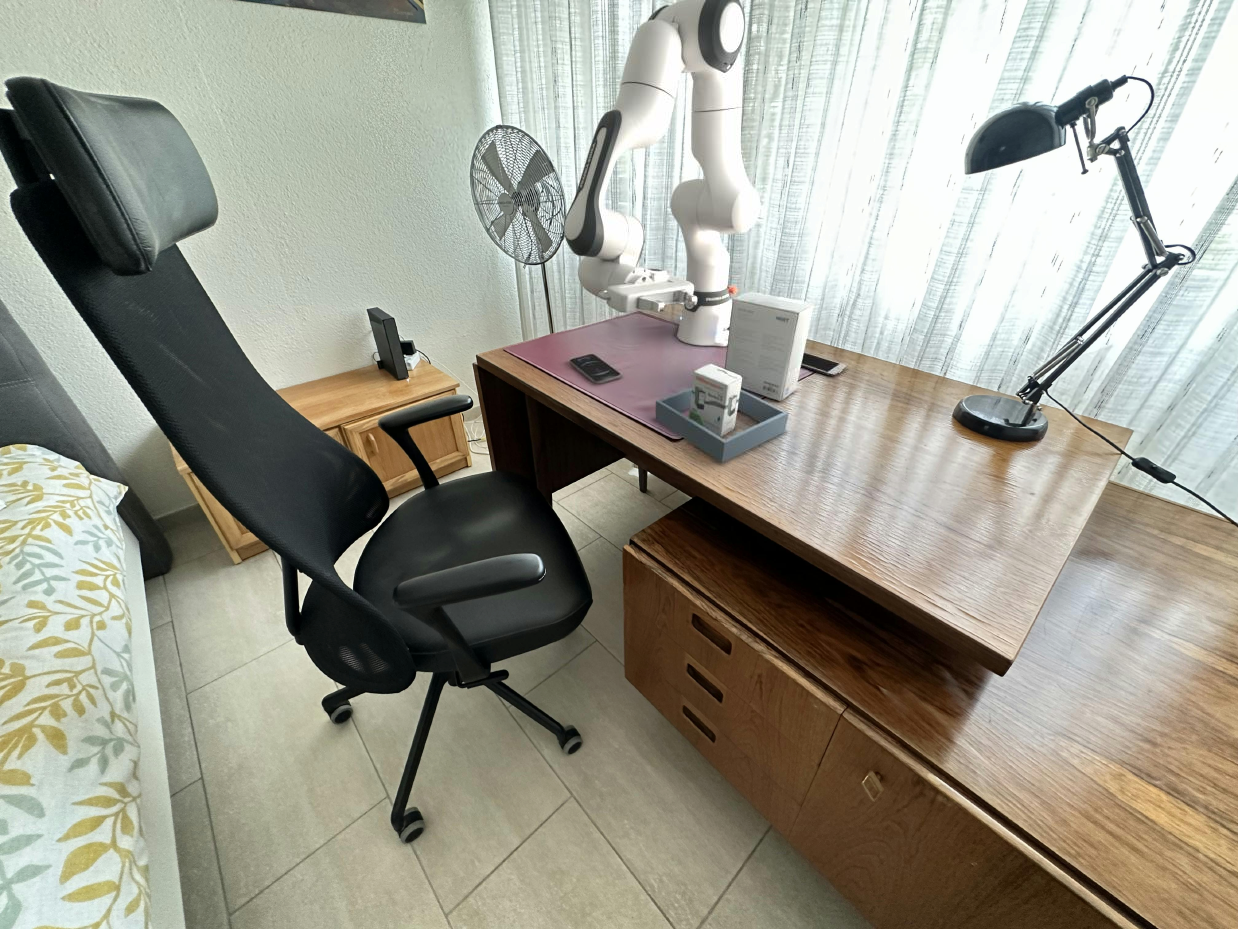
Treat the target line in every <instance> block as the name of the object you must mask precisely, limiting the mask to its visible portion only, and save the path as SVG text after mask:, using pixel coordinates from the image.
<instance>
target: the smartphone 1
mask: <svg viewBox="0 0 1238 929" xmlns="http://www.w3.org/2000/svg"><path fill="white" fill-rule="evenodd" d="M569 364H570V365H572V367H574V368H575V369H576V370H577V371H579V373H581V374H582V375H583V376H585V377H586V378H587V379H588V380H590V381H591V382H592V383H593V384H596V385H598V384H599V385H600V384H604V383H607V382H610V381H614V380H618V379H620V378H621V372H620V371H618V370H617V369H615V368H614V367H612V366H611V364H608V363H607V362H606V361H605V360H603V359H601V358H600V357H599V356H597V355H596V354H594V353H590V354H584V355H581V356H578V357H574V358H571V359H569Z"/></svg>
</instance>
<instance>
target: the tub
mask: <svg viewBox="0 0 1238 929" xmlns="http://www.w3.org/2000/svg"><path fill="white" fill-rule="evenodd" d="M691 396H692V387H689V388H687V389H683V390H681V391H678V392H676V393H673V394H670V395H667V396H665V397H662V398H659V399H657V400H655V420H656V421H657V422H658V423H660V424H662V425H663V426H665V427H666V428H667V429H669V430H671V431H672V432H674V433H676V435H678V436H680V437H681V438H683V439H684V440H686V441H687V442H688V443H691V444H692V445H694V446H695V447H697V448H698V449H699V450H701V451H703V452H704V453H706V454H707V455H709V456H710V457H712V458H713V459H715V460H716V461H718V462H719V463H721V464H723V463H725V462H727V461H729V460H731V459H733V458H735V457H737V456H739V455H742V454H744V453H745V452H748V451H750V450H752V449H754V448H755V447H757V446H759V445H760V446H761V445H762V444H764V443H766V442H768V441H770V440H771V439H774V438H776V437H778V436H781V435H782V434H784V433H785V432H786V427H787V424H788V423H787V422H788V419H789V414H790V412H788V411H786V410H784V409H782V408H780V407H778V406H775V405H774V404H772V403H769V402H768V401H766V400H763V399H761V398H759V397H758V396H755V395H753V394H751V393H749V392H748V391H746V390H744V389H742V388H741V389H740V395H739V402H738V408H737V411H739V412H741V413H743V414H744V415H747V416H749V417H750V418H752V419H754V420H756V421H758V422H759V423H758V424H755V425H753V426H751V427H749V428H747V429H744V430H743V431H740V432H737V433H736V434H733V435H731V436H730V437H727V438H725V439H724V438H722V436H721V437H720V436H718V435H716V434H714V433H713V432H711V431H709V430H708V429H706V428H705V427H703V426H701V425H700V424H698V423H696V422H695V421H693V420H691V419H690V418H689V417H688V416H687V415H685V414H683V413H682V412H684V411H686V410H688V409H689V410H690V406H691Z"/></svg>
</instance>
